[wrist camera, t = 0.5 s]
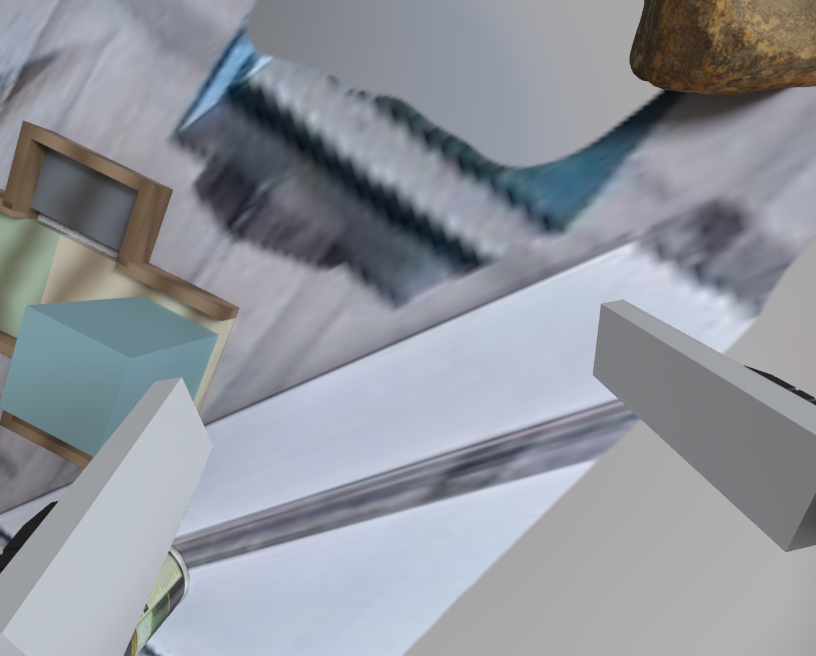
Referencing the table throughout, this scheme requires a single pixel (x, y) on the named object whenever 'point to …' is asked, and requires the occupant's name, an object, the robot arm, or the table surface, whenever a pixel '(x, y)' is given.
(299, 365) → the table surface
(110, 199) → the trap lane
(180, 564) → the coffee can
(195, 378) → the teal block
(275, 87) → the table surface
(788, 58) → the rough brown rock
